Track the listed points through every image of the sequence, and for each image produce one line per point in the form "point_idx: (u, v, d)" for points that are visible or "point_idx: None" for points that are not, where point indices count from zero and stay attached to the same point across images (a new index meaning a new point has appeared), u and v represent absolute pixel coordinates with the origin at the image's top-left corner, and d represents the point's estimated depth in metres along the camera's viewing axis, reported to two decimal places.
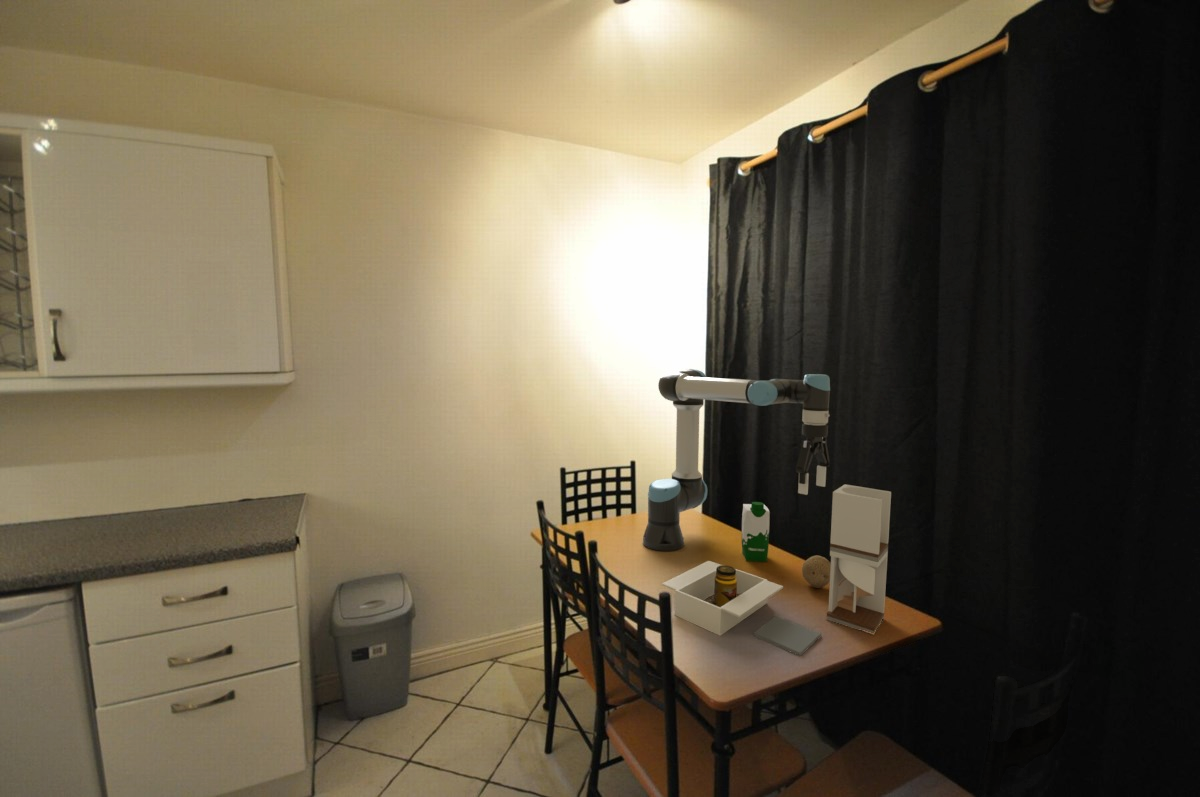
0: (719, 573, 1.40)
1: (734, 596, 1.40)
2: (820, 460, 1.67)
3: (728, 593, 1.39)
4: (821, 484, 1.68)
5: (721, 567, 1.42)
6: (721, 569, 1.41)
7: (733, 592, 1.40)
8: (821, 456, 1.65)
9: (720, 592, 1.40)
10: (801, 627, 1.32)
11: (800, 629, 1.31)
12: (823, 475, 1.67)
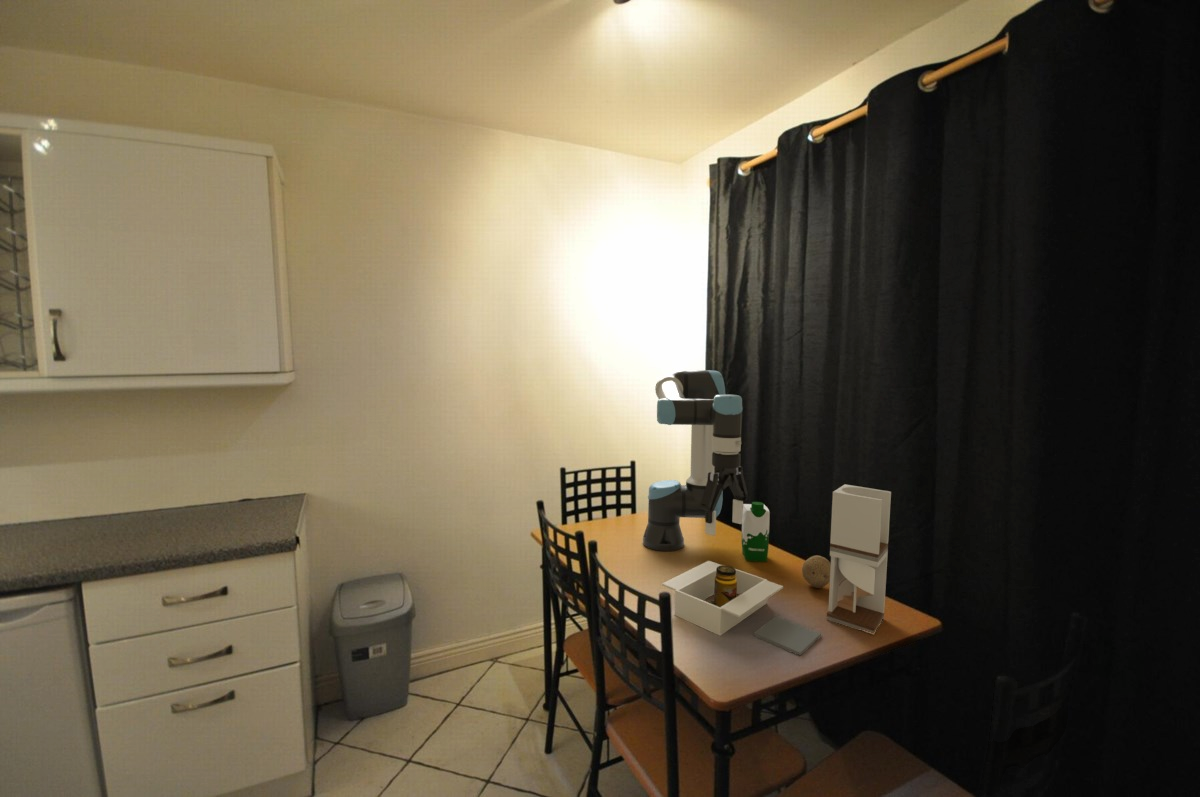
0: (719, 573, 1.40)
1: (734, 596, 1.40)
2: (736, 493, 1.44)
3: (728, 593, 1.39)
4: (737, 521, 1.45)
5: (721, 567, 1.42)
6: (721, 569, 1.41)
7: (733, 593, 1.40)
8: (736, 489, 1.43)
9: (720, 592, 1.40)
10: (801, 627, 1.32)
11: (800, 629, 1.31)
12: (739, 511, 1.44)
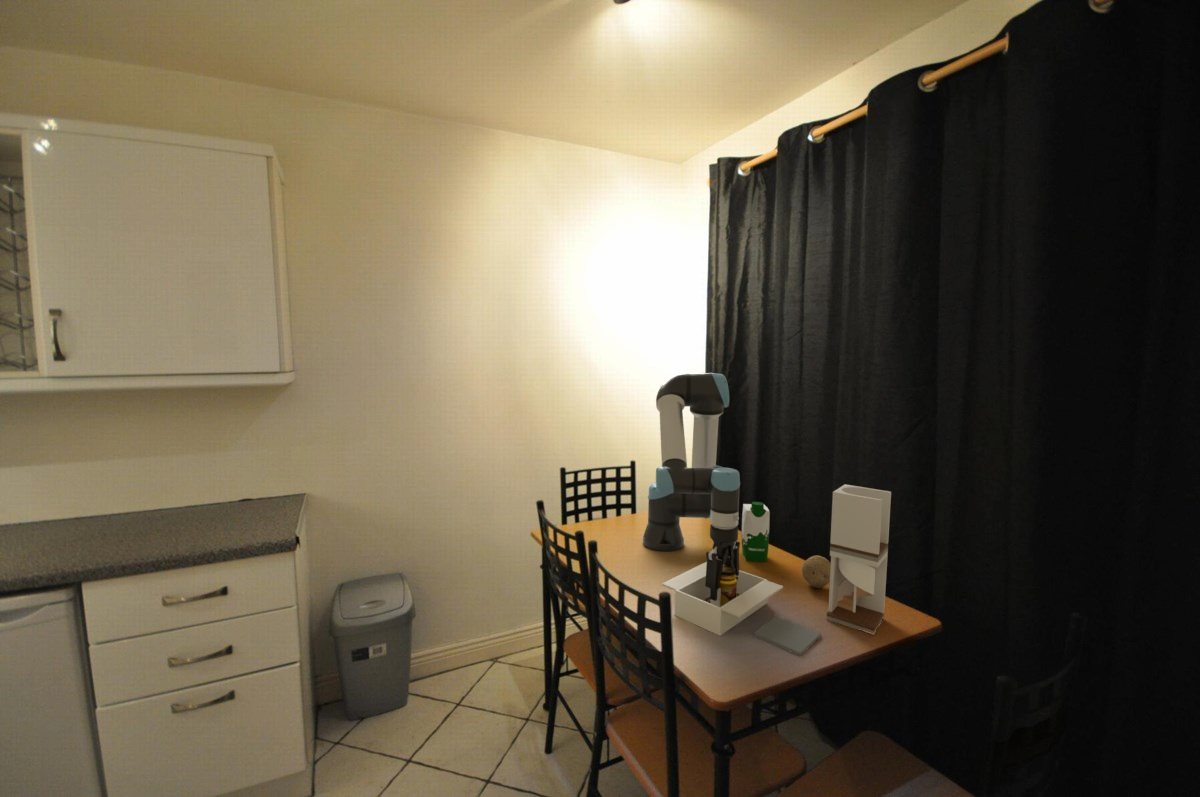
0: None
1: (734, 596, 1.40)
2: None
3: (728, 594, 1.39)
4: None
5: None
6: None
7: (733, 593, 1.39)
8: (729, 565, 1.43)
9: None
10: (801, 627, 1.32)
11: (800, 629, 1.31)
12: None
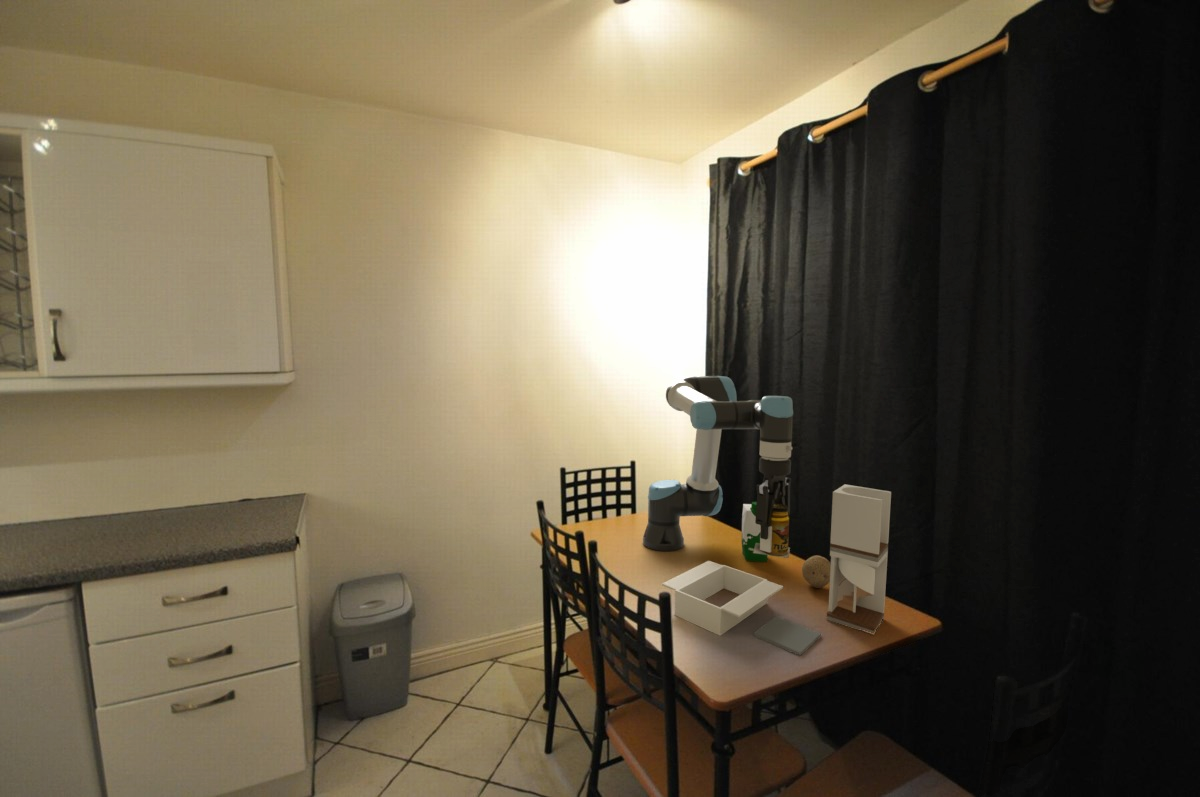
0: None
1: (786, 535, 1.28)
2: None
3: (780, 532, 1.27)
4: None
5: None
6: None
7: (786, 531, 1.27)
8: (780, 502, 1.31)
9: None
10: (801, 627, 1.32)
11: (800, 629, 1.31)
12: None
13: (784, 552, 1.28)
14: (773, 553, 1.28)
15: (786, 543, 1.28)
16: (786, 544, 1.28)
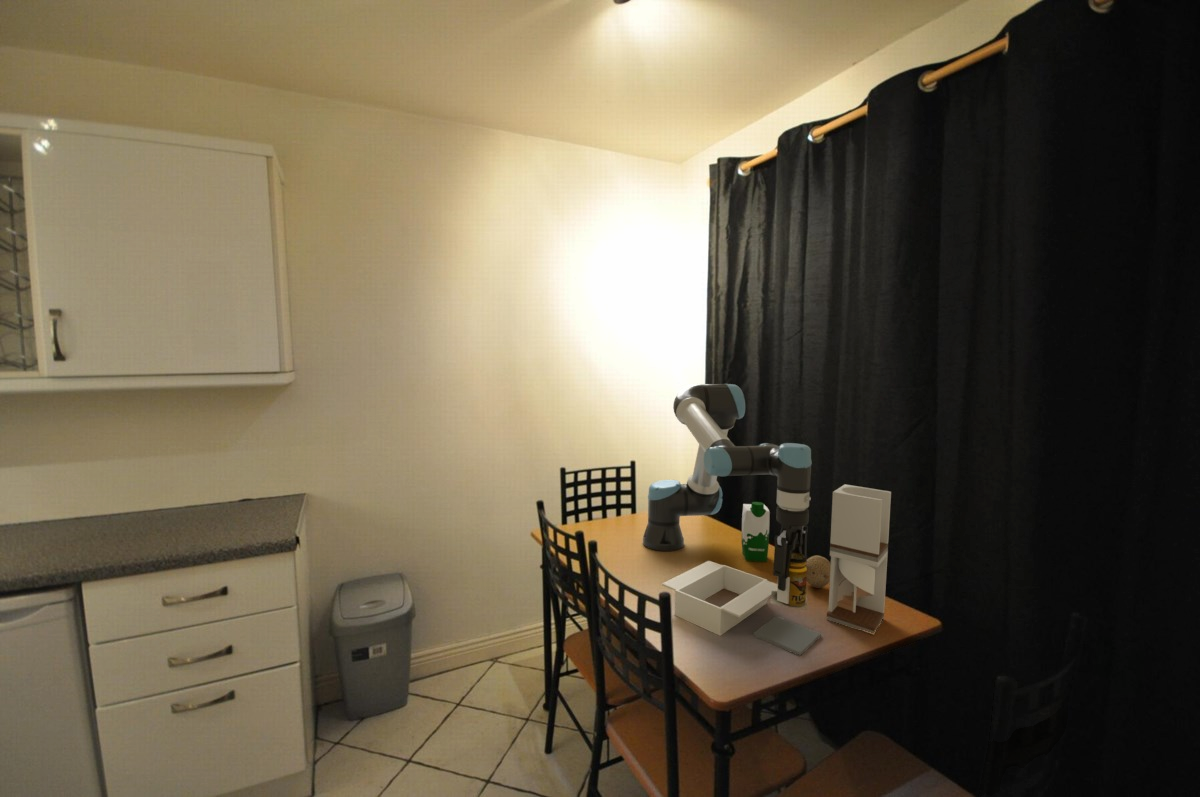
0: None
1: (804, 586, 1.25)
2: None
3: (799, 583, 1.25)
4: None
5: None
6: None
7: (804, 582, 1.25)
8: (797, 551, 1.29)
9: None
10: (801, 627, 1.32)
11: (800, 629, 1.31)
12: None
13: (802, 603, 1.26)
14: (791, 604, 1.25)
15: (804, 594, 1.26)
16: (804, 595, 1.26)
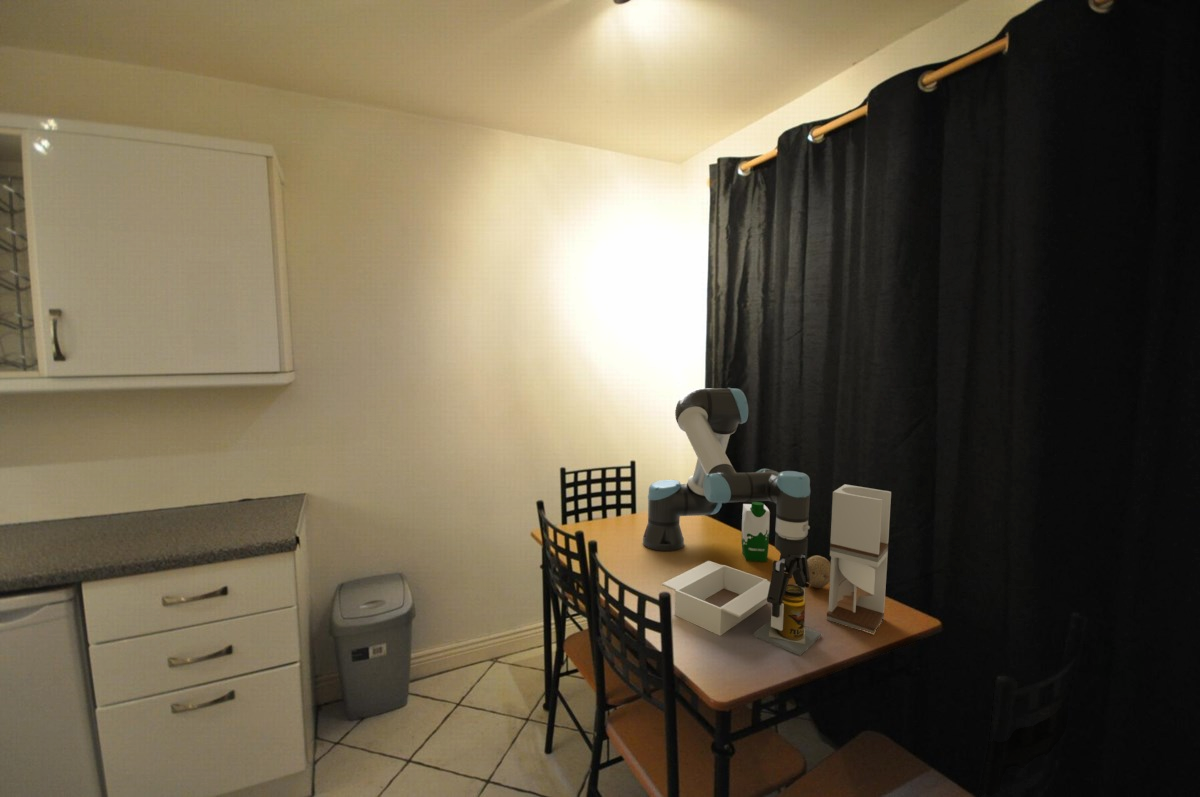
0: (786, 594, 1.27)
1: (802, 619, 1.26)
2: (798, 579, 1.32)
3: (797, 617, 1.25)
4: None
5: (787, 587, 1.29)
6: (787, 589, 1.28)
7: (802, 615, 1.26)
8: (799, 575, 1.30)
9: (787, 615, 1.26)
10: None
11: None
12: None
13: (800, 636, 1.26)
14: (789, 637, 1.26)
15: (802, 627, 1.27)
16: (802, 628, 1.27)
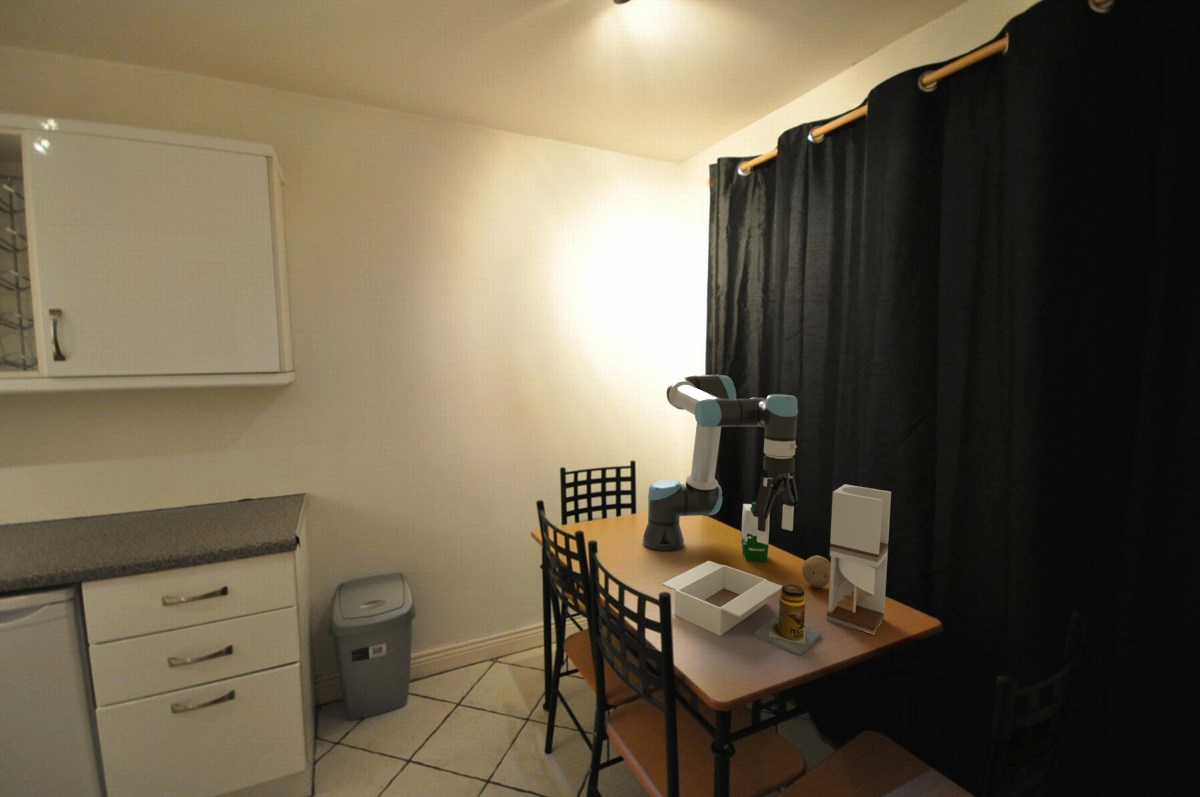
0: (786, 594, 1.27)
1: (802, 619, 1.26)
2: (786, 498, 1.37)
3: (797, 616, 1.25)
4: (788, 527, 1.38)
5: (787, 587, 1.29)
6: (788, 589, 1.28)
7: (802, 615, 1.26)
8: (787, 494, 1.35)
9: (787, 615, 1.26)
10: None
11: None
12: (790, 517, 1.37)
13: (800, 636, 1.26)
14: (789, 637, 1.26)
15: (802, 627, 1.27)
16: (802, 628, 1.27)
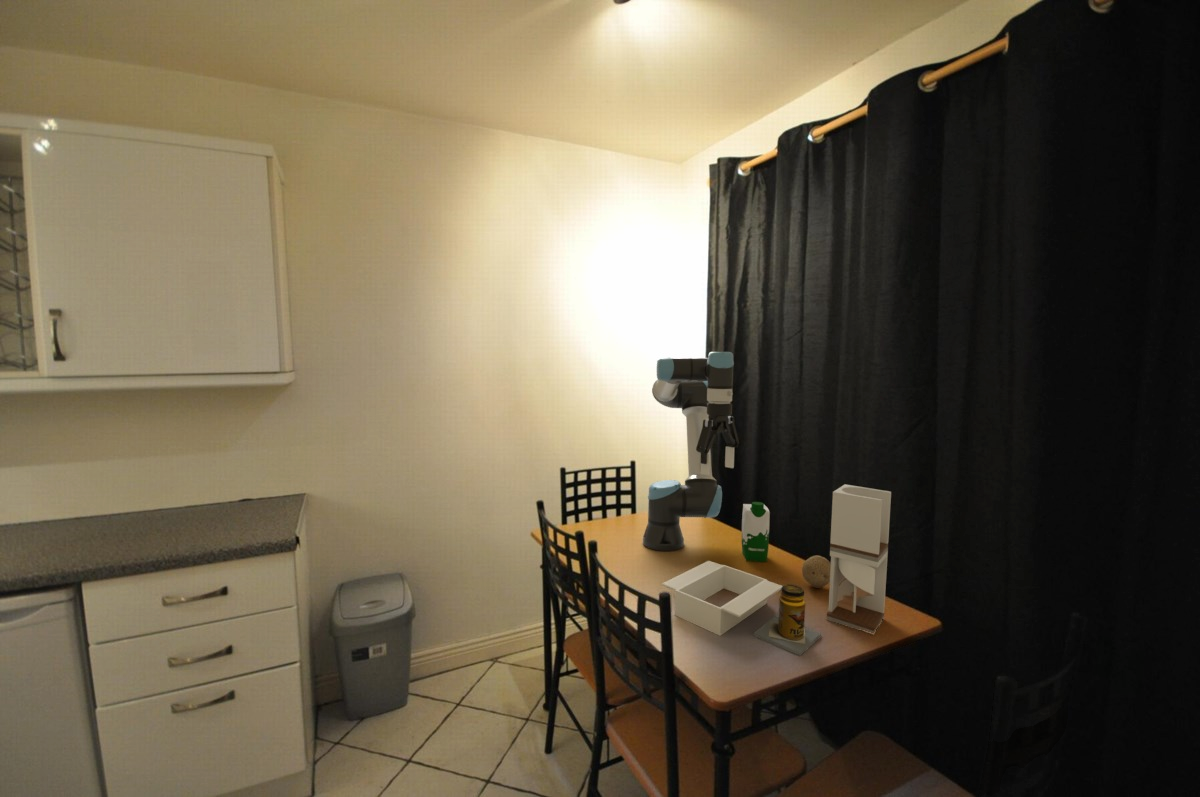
0: (786, 594, 1.27)
1: (802, 619, 1.26)
2: (728, 441, 1.62)
3: (797, 616, 1.25)
4: (729, 465, 1.63)
5: (787, 587, 1.29)
6: (787, 589, 1.28)
7: (802, 615, 1.26)
8: (728, 436, 1.61)
9: (787, 615, 1.26)
10: None
11: None
12: (731, 456, 1.63)
13: (800, 636, 1.26)
14: (789, 637, 1.26)
15: (802, 627, 1.27)
16: (802, 628, 1.27)
